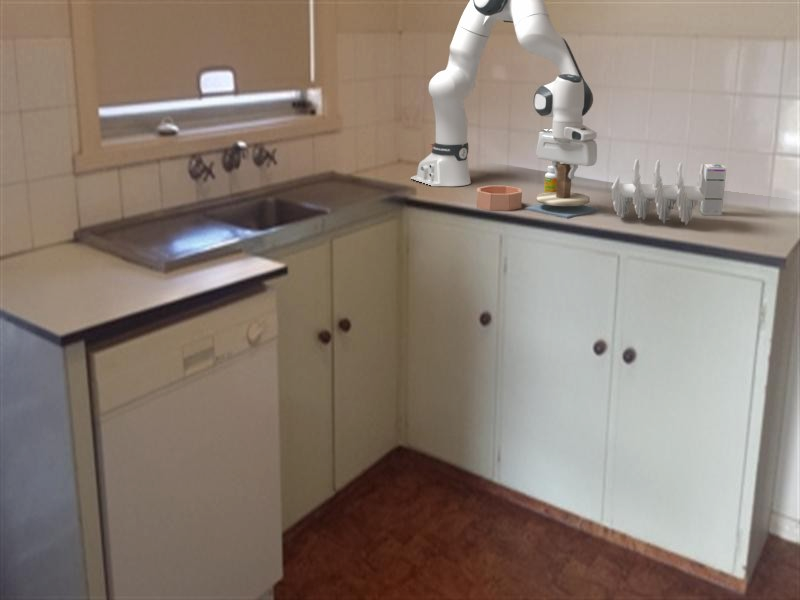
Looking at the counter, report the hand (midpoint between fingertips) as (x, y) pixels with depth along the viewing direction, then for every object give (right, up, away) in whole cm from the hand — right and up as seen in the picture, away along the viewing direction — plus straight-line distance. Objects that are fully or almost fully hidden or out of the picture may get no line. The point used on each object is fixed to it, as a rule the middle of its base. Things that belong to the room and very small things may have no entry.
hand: (564, 177), depth 262 cm
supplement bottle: (0, -3, +23) cm, 23 cm away
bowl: (-19, -8, +9) cm, 22 cm away
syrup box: (+44, -11, -2) cm, 45 cm away
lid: (0, -7, +2) cm, 7 cm away
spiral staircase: (+25, -14, -10) cm, 30 cm away
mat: (0, -10, +3) cm, 10 cm away
